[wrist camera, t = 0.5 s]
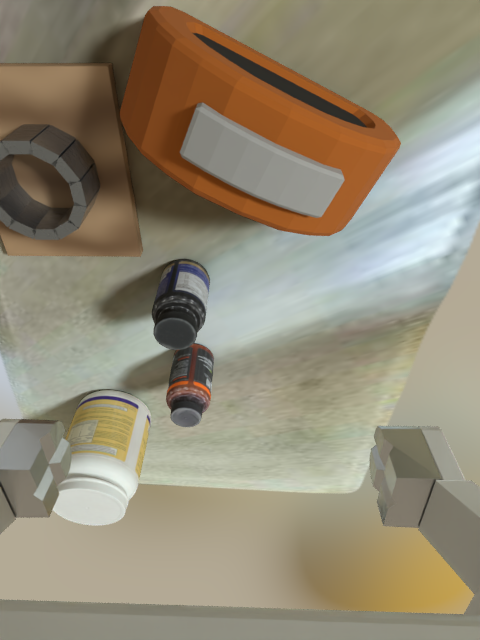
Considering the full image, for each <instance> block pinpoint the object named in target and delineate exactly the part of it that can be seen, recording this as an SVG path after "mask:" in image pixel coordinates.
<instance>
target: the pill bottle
mask: <svg viewBox="0 0 480 640" xmlns="http://www.w3.org/2000/svg"><path fill="white" fill-rule="evenodd" d="M209 285H210V278H209V275H208V273H207V271H206V269H205V268H204V267H203V266H202V265H201V264H199V263H198V262H195V261H193V260H189V259H182V260H177V261H173V262H172V263H170V264H169V265H167V266H166V268H165V269H164V271H163V273H162V277H161V280H160V284H159V287H158V291H157V295H156V298H155V302H154V305H153V309H152V318H153V321H154V323H155V326H154V336H155V338H156V340H157V341H158V342H159V344H161V345H162V346H164V347H166V348H169V349H173V350H181V349H185V348H188V347H190V346H191V345H192V344H193V343H194V342H195V340H196V337H197V332H198V331H199V330H200V329H201V328H202V326H203V325H204V322H205V316H206V308H207V300H208V292H209Z"/></svg>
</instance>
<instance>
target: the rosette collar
mask: <svg viewBox="0 0 480 640" xmlns="http://www.w3.org/2000/svg"><path fill="white" fill-rule="evenodd" d="M75 140H76V138H75V137H73V136H71V135H70V134H68V133H66V132H64V131H62V130H60V129H58V128H56V127H54V126H53V125H49V124H24V125H22V126H20V127H19V128H18V129H16V130H15V131H13V132H12V133H11V134H9V135H8V136H7V137H5V138H4V139H3V140H1V141H0V220H1V221H2V222H3V223H4V224H5V225H6V226H7V227H9V226H10V227H9V229H12V230H14V231H16V232H18V233H21V234H23V235H25V236H27V237H30V238H32V239H34V238H35V240H59V239H62V238H64V237H66V236H67V235H69V234H71V233H72V232H74V231H76V230H77V229H79V228H80V226H81V224H82V223H83V221H84V220H85V218H86V217H87V215H88V213H89V212H90V210H91V209H92V207H93V205H94V203H95V200H96V198H97V195H98V192H99V190H100V181H99V177H98V172H97V167H96V163H93V162H94V159H93V158H92V157H91V156H90V154H89V153H88V152H87V150H86V149H85V148H84V147H83V145H82V144H81V143H80V142H79V140H78V139H77V140H76V141H75ZM14 154H31V155H33V156H35V157H37V158H39V159H41V160H43V161H45V162H47V163H49V164H51V165H53V166H54V167H55V168H56V169H57V171H58V172H59V173H60V174H61V175H62V176H63V178H64V179H65V180H66V181H67V182H68V183H69V186H70V190H71V194H72V198H73V202H74V205H73V206H72V207H70V208H51V207H49V206H47V205H45V204H42V203H40V202H38V201H36V200H34V199H32V197H31V196H30V195H29V194H28V193H27V192H26V191H25V190H24V189H23V188H22V187H21V186H20V184H19V183H18V180H17V177H16V174H15V172H14V169H13V166H12V163H13V159H14Z"/></svg>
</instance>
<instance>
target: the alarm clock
mask: <svg viewBox="0 0 480 640" xmlns="http://www.w3.org/2000/svg"><path fill="white" fill-rule="evenodd" d="M120 119H121V121H122V124H123V126H124V128H125V130H126V133H127V135H128V136H129V138H130V139H131V140H132V142H133V143H134V144H135V146H136V147H137V148H138V150H139V151H140V152H141V153H142V154H143V155H144V156H145V157H146V158H147V159H148V160H150V161H151V162H152V163H153V164H155V165H156V166H157V167H158V168H159V169H161V170H162V171H163V172H164V173H166V174H167V175H168V176H170V177H171V178H172V179H174V180H175V181H177V182H178V183H180V184H181V185H183V186H184V187H186V188H187V189H189V190H190V191H192V192H193V193H194V194H196V195H198V196H201V197H203V198H205V199H207V200H209V201H211V202H213V203H215V204H217V205H220V206H222V207H224V208H226V209H228V210H230V211H232V212H234V213H237V214H239V215H241V216H244V217H247V218H249V219H252V220H254V221H257V222H259V223H262V224H265V225H267V226H270V227H272V228H275V229H277V230H281V231H287V232H293V233H299V234H305V235H316V236H330V235H332V234H334V233H337V232H339V231H341V230H342V229H343V228H344V227H345V226H346V225H347V224H348V222H349V221H350V220H351V219H352V217H353V216H354V214H355V213H356V211H357V210H358V208H359V207H360V205H361V204H362V202H363V201H364V199H365V198H366V197H367V195H368V194H369V192H370V191H371V189H372V188H373V186H374V185H375V183H376V182H377V180H378V179H379V177H380V176H381V174H382V173H383V171H384V170H385V168H386V167H387V165H388V164H389V163H390V161H391V160H392V158H393V157H394V155H395V154H396V152H397V151H398V149H399V147H400V144H401V142H400V141H399V139H398V137H397V136H396V134H395V133H394V131H393V130H392V129H391V128H390V127H389V126H388V125H387V124H386V123H385V122H384V121H383V120H382V119H380V118H379V117H377V116H376V115H374V114H373V113H371V112H369V111H368V110H366V109H364V108H362V107H360V106H358V105H356V104H355V103H353V102H351V101H349V100H347V99H345V98H343V97H341V96H340V95H338V94H336V93H334V92H332V91H330V90H328V89H327V88H325V87H323V86H321V85H319V84H317V83H315V82H313V81H312V80H310V79H308V78H306V77H304V76H302V75H300V74H298V73H297V72H295V71H293V70H291V69H289V68H287V67H285V66H284V65H282V64H280V63H278V62H276V61H274V60H272V59H270V58H269V57H267V56H265V55H263V54H261V53H259V52H257V51H256V50H254V49H252V48H250V47H248V46H246V45H244V44H242V43H241V42H239V41H237V40H235V39H233V38H231V37H229V36H228V35H226V34H224V33H222V32H220V31H218V30H216V29H214V28H213V27H211V26H209V25H207V24H205V23H203V22H201V21H200V20H198V19H196V18H194V17H192V16H190V15H188V14H186V13H185V12H182V11H180V10H178V9H175V8H173V7H167V6H153V7H152V8H151V9H150V10H149V11H148V12H147V13H146V15H145V17H144V21H143V25H142V29H141V33H140V37H139V41H138V44H137V48H136V52H135V56H134V60H133V64H132V67H131V71H130V75H129V79H128V83H127V87H126V90H125V94H124V98H123V102H122V106H121V110H120Z"/></svg>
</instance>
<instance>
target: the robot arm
mask: <svg viewBox="0 0 480 640" xmlns="http://www.w3.org/2000/svg"><path fill="white" fill-rule="evenodd" d="M64 433H65V428H64V426H63V423H62V422H60V421H50V420H27V419H21V420H20V419H2V420H1V421H0V534H1V533H2V532H3V531H4V530H5V529H6V528H7V527H8V526H9V525H10V524H11V523H13V522H14V520H16V518H15V517H50V514H51V512H52V510H53V507H54V505H55V503H56V501H57V498H58V496H59V492H58V489H57V486H58V485H59V484H60V483H61V482H63V481H64V480H65V479H66V478H67V475H68V473H69V470H70V466H71V460H72V452H71V447H70V443H69V442H68V441H66V440H65V439H64V438H63V435H64ZM374 438H375V442H376V445H375V446H374V447H373V448H372V449H371V453H370V474H371V479H372V484H373V486H374V487H375V488H376V489H377V490H378V491H379V495H378V499H377V503H378V507H379V511H380V515H381V519H382V522H383V526H394V527H414V528H419V531H420V532H421V533H422V534H423V535H424V537H425V538H426V539H427V540H428V541H429V542H430V544H431V545H432V546H433V547H434V548H435V549H436V550H437V552H438V553H439V554H440V555H441V556H442V557H443V559H444V560H445V561H446V562H447V563H448V564H449V565H450V567H451V568H452V569H453V570H454V571H455V572H456V574H457V575H458V576H459V577H460V578H461V579H462V580H463V582H464V583H465V584H466V585H467V586H468V587H469V589H470V590H471V591H472V592H473V593H474V594H475V595H474V597H473V599H472V600H471V602H470V604H469V606H468V608H467V609H466V611H465V613H464V614H434V613H402V612H371V611H341V610H309V609H280V608H249V607H218V606H186V605H155V604H153V605H152V604H121V603H91V602H59V601H28V600H0V640H480V487H479V486H478V485H477V484H475V483H474V482H473V481H467V480H465V478H464V476H463V474H462V472H461V470H460V467H459V465H458V463H457V461H456V459H455V457H454V455H453V453H452V451H451V448H450V446H449V444H448V442H447V440H446V438H445V436H444V434H443V432H442V430H441V429H440V428H439V427H425V426H422V427H421V426H418V427H416V426H378V427H377V428H376V430H375V434H374Z"/></svg>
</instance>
